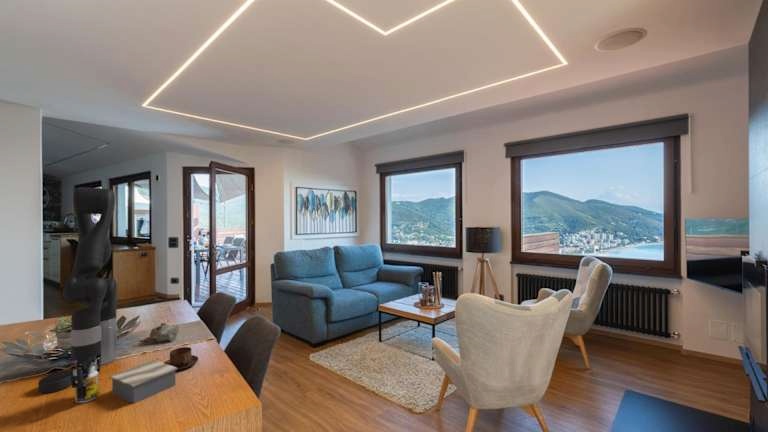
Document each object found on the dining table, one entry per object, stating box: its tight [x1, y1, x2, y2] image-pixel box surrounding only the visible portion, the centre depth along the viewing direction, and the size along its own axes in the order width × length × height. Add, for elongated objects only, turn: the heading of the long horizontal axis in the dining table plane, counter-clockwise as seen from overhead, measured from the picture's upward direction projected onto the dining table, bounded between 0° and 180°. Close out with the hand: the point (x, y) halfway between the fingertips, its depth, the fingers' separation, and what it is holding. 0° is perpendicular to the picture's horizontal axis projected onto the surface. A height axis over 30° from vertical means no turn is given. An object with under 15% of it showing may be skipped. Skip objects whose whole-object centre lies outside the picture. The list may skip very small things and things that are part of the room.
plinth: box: [109, 359, 178, 404], centre depth 117 cm, size 14×14×6 cm
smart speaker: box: [37, 370, 72, 394], centre depth 119 cm, size 9×9×4 cm
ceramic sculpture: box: [138, 322, 180, 344], centre depth 162 cm, size 11×9×15 cm
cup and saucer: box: [163, 346, 199, 371], centre depth 135 cm, size 12×12×6 cm
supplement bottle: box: [74, 365, 99, 404], centre depth 111 cm, size 6×6×10 cm
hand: (86, 392), depth 111 cm, fingers closed on supplement bottle, 5 cm apart
